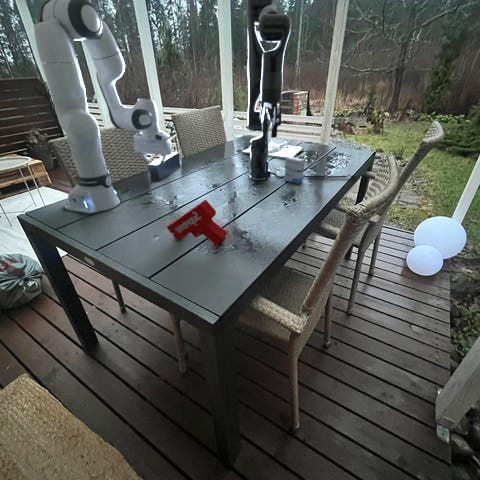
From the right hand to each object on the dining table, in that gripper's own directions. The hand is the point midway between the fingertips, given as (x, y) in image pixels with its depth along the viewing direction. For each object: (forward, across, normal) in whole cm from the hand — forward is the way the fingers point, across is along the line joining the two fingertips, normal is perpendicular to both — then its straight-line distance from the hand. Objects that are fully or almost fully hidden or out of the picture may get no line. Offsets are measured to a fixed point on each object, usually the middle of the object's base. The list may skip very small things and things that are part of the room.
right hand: (269, 135), depth 105 cm
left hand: (+20, -49, -43) cm, 69 cm away
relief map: (+29, -79, +40) cm, 93 cm away
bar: (+29, -57, -38) cm, 74 cm away
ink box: (+29, -20, +25) cm, 43 cm away
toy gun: (+29, +20, -34) cm, 49 cm away
